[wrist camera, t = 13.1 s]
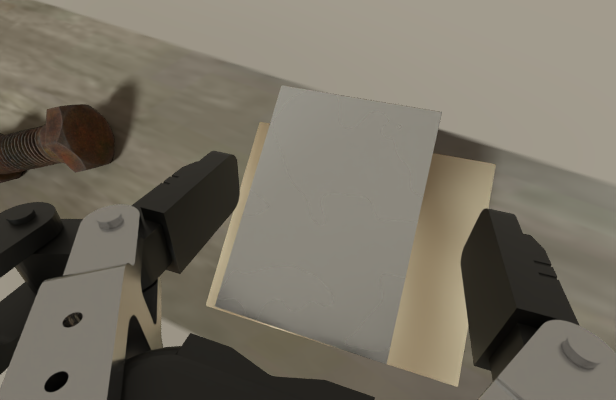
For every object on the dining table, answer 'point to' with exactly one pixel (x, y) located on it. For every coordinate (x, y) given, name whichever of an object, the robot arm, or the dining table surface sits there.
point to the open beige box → (415, 264)
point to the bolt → (59, 142)
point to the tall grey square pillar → (332, 219)
